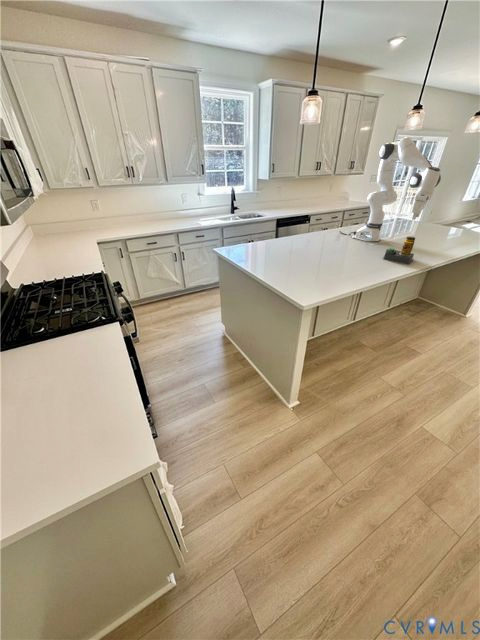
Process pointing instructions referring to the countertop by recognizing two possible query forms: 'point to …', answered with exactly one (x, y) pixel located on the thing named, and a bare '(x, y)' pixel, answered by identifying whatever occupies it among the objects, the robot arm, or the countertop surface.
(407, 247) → the condiment
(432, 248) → the countertop surface
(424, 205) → the robot arm
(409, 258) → the control panel
